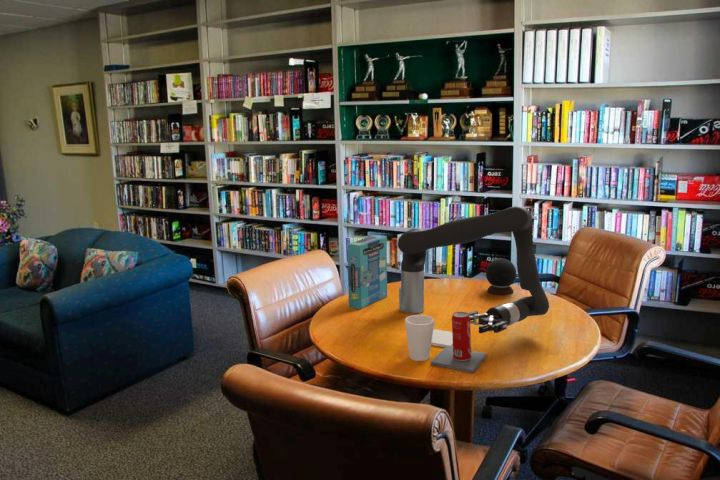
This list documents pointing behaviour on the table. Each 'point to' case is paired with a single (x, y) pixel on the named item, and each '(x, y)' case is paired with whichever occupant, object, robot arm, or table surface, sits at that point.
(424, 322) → the foam cup
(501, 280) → the ball on round base
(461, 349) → the beverage can
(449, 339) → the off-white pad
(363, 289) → the game box
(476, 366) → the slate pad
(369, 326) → the table surface
